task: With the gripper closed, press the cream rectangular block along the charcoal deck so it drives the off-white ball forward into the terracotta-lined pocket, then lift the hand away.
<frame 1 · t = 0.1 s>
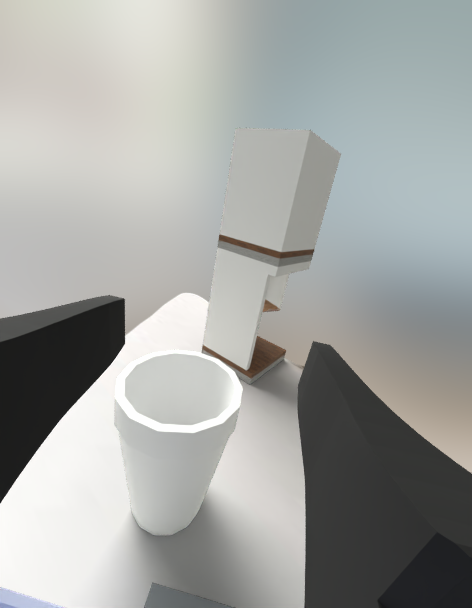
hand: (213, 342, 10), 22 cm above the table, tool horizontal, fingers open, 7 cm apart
foam cup: (167, 498, 26), on the table
white coffee grinder: (243, 358, 51), on the table
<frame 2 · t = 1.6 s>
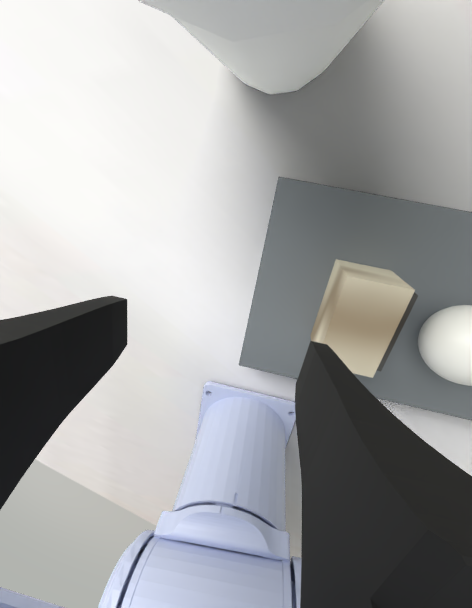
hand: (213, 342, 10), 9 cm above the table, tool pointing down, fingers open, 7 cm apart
deck: (416, 306, 18), on the table
foam cup: (282, 17, 14), on the table
cream rectangular block: (357, 317, 15), point 4 cm above the table, slide at 0.0 cm
ball: (465, 344, 14), point 4 cm above the table, touching deck
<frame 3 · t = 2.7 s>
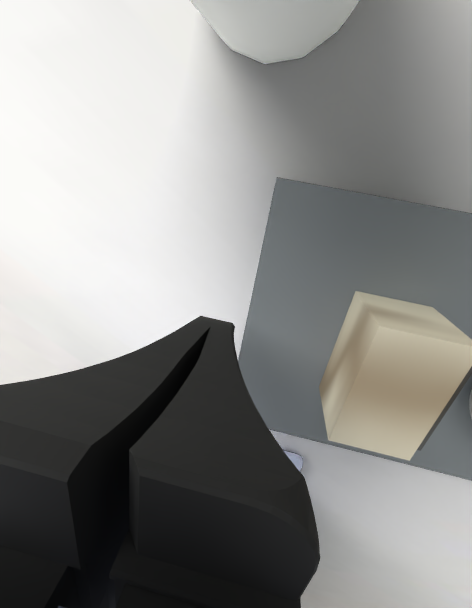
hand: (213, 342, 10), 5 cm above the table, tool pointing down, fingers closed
deck: (456, 345, 14), on the table
cream rectangular block: (386, 373, 11), point 4 cm above the table, slide at 0.0 cm
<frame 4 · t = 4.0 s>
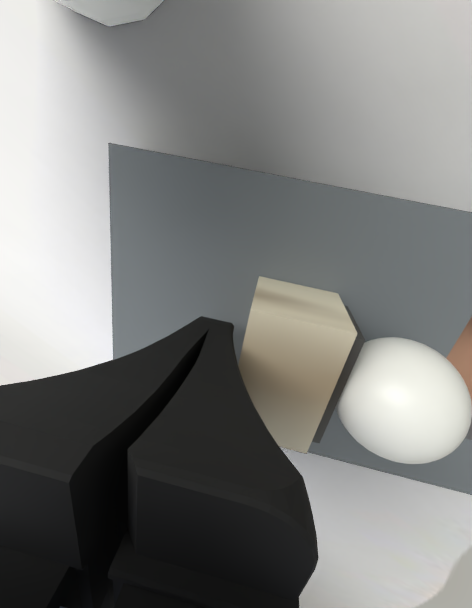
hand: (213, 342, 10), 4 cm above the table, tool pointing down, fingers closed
deck: (342, 327, 14), on the table
cream rectangular block: (287, 362, 10), point 4 cm above the table, slide at 2.0 cm, touching gripper
ball: (394, 396, 9), point 4 cm above the table, tilted 11°, touching deck
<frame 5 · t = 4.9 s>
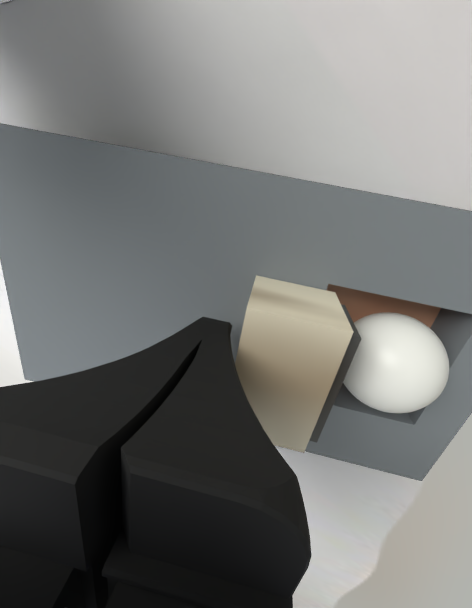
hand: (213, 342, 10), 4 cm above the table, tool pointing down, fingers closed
deck: (239, 303, 14), on the table
cream rectangular block: (284, 361, 10), point 4 cm above the table, slide at 7.1 cm, touching gripper
ball: (387, 360, 11), point 2 cm above the table, tilted 168°, touching deck
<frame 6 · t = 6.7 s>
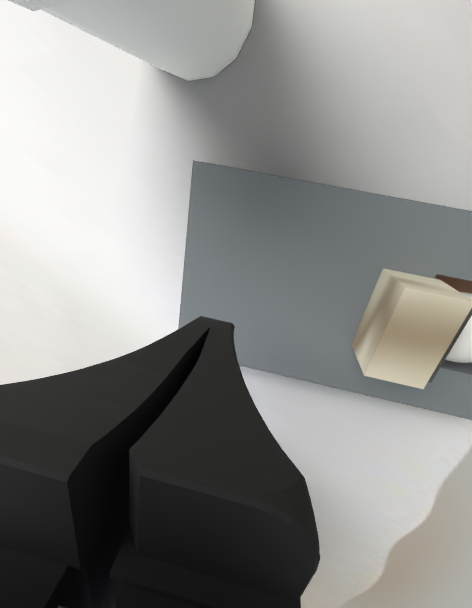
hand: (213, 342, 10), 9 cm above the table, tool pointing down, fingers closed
deck: (347, 291, 18), on the table
foam cup: (193, 4, 14), on the table
cream rectangular block: (406, 327, 15), point 4 cm above the table, slide at 7.0 cm, touching ball
ball: (458, 327, 16), point 2 cm above the table, tilted 171°, touching deck, cream rectangular block
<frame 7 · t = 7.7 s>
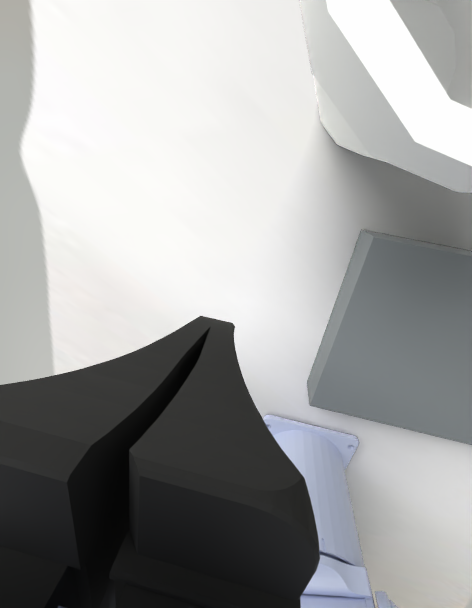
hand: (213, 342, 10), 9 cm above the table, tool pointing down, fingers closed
foam cup: (379, 84, 14), on the table
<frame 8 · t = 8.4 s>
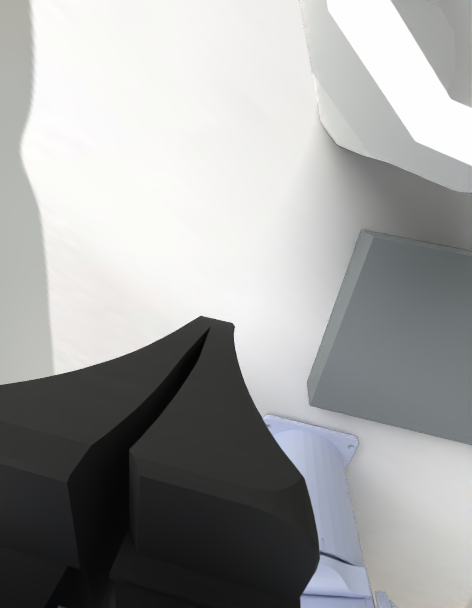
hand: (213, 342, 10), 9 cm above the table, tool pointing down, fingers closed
foam cup: (379, 84, 14), on the table
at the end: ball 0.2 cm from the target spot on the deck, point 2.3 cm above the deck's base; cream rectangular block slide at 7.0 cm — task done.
